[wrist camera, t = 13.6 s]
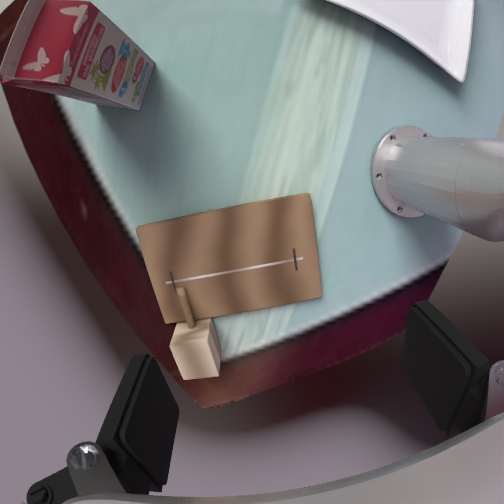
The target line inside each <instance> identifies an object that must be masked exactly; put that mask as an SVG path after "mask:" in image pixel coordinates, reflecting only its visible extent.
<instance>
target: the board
mask: <svg viewBox="0 0 504 504" xmlns="http://www.w3.org/2000/svg"><path fill="white" fill-rule="evenodd" d="M136 232H137V236H138V240H139V243H140V247H141V250H142V253H143V257H144V260H145V263H146V267H147V270H148V273H149V276H150V279H151V282H152V285H153V288H154V291H155V294H156V297H157V300H158V303H159V306H160V309H161V312H162V314H163V317H164V320H165V323H166V324H167V323H175V322H182V321H186V319H185V316H184V312H183V309H182V306H181V303H180V300H179V297H178V294H177V290H176V288H177V287H179V286H183V287H184V290H185V294H186V297H187V300H188V303H189V307H190V310H191V313H192V316H193V319H194V320H196V319H202V318H209V317H215V316H222V315H228V314H234V313H240V312H246V311H252V310H257V309H263V308H268V307H274V306H279V305H284V304H289V303H295V302H300V301H305V300H310V299H314V298H319V297H322V291H321V280H320V270H319V260H318V251H317V243H316V234H315V226H314V219H313V211H312V204H311V197H310V194H309V193H304V194H298V195H292V196H286V197H281V198H275V199H269V200H264V201H258V202H253V203H247V204H242V205H237V206H232V207H227V208H221V209H216V210H211V211H207V212H202V213H197V214H192V215H187V216H183V217H178V218H174V219H169V220H165V221H160V222H156V223H151V224H147V225H143V226H138V227H137V228H136Z"/></svg>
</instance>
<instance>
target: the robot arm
mask: <svg viewBox="0 0 504 504" xmlns="http://www.w3.org/2000/svg"><path fill="white" fill-rule="evenodd" d="M390 137H391V139H390ZM377 174H378V177H376V176H377ZM371 179H372V183H373V187H374V190H375V192H376V194H377V196H378V198H379V199H380V201H381V203H382V204H383V205H384V206H385V207H386V208H387V209H389V210H390V211H391V212H393V213H395V214H397V215H399V216H402V217H406V218H415V217H420V216H422V215H425V214H427V215H429V216H432V217H434V218H436V219H439V220H441V221H443V222H446V223H448V224H450V225H453V226H455V227H457V228H459V229H461V230H464V231H466V232H468V233H470V234H472V235H475V236H477V237H480V238H481V239H484V240H487V241H491V242H502V241H504V140H502V139H485V138H461V137H432V136H431V135H430V134H429V133H428V132H426V131H424V130H423V129H420V128H417V127H413V126H403V127H398V128H395V129H393V130H391V131H389V132H388V133H387V134H385V135H384V136H383V137H382V138H381V140H380V141H379V143H378V144H377V146H376V148H375V150H374V153H373V157H372V161H371ZM397 208H398V209H397ZM402 369H403V371H404V373H405V374H406V376H407V377H408V379H409V381H410V382H411V384H412V385H413V387H414V388H415V390H416V392H417V393H418V395H419V396H420V398H421V400H422V401H423V403H424V404H425V406H426V408H427V409H428V411H429V413H430V414H431V416H432V418H433V419H434V421H435V423H436V424H437V426H438V428H439V429H440V430H441V431H443V430H444V431H445V433H446V434H447V436H449V435H451V434H453V433H455V432H457V431H459V430H460V432H461V434H459V435H457V436H455V437H453V438H451V439H449V440H447V441H445V442H443V443H440V444H439V445H436V446H434V447H432V448H430V449H427V450H425V451H423V452H420V453H418V454H416V455H413V456H411V457H408V458H406V459H403V460H400V461H398V462H395V463H393V464H390V465H387V466H384V467H381V468H378V469H375V470H372V471H369V472H365V473H362V474H358V475H355V476H351V477H348V478H344V479H340V480H336V481H332V482H328V483H323V484H319V485H314V486H309V487H304V488H298V489H292V490H287V491H279V492H272V493H263V494H254V495H243V496H225V497H172V496H153V495H149V491H154V492H162V486H163V485H165V484H166V483H167V479H168V473H169V467H170V462H171V456H172V450H173V444H174V439H175V434H176V427H177V422H178V418H179V407H178V405H177V403H176V401H175V399H174V397H173V395H172V393H171V391H170V389H169V387H168V385H167V383H166V381H165V378H164V376H163V374H162V372H161V370H160V368H159V366H158V364H157V361H156V359H155V358H154V357H151V356H150V355H149V354H138V355H133V356H132V358H131V360H130V362H129V365H128V367H127V369H126V371H125V373H124V376H123V378H122V380H121V382H120V385H119V387H118V389H117V391H116V394H115V396H114V398H113V401H112V403H111V405H110V408H109V410H108V413H107V415H106V418H105V420H104V422H103V425H102V427H101V430H100V432H99V435H98V438H97V440H96V443H94V442H90V441H87V442H82V443H79V444H77V445H75V446H74V447H73V448H72V449H71V450H70V451H69V453H68V455H67V459H66V462H67V467H65V468H64V469H62V470H60V471H58V472H56V473H54V474H52V475H50V476H48V477H46V478H44V479H43V480H41V481H39V482H37V483H35V484H33V485H32V486H31V487H30V489H29V490H28V493H27V503H26V504H504V360H503V361H499V362H497V363H495V364H494V365H493V366H491V365H490V364H489V360H488V359H487V358H486V357H485V356H484V355H483V354H482V353H481V352H480V351H479V350H478V349H477V348H476V347H475V345H474V344H473V343H472V342H470V341H469V339H468V338H467V337H465V335H463V334H462V332H461V331H459V330H458V329H457V328H456V327H455V326H454V325H453V324H452V323H451V322H450V321H449V320H448V319H447V318H446V317H445V316H444V315H443V314H442V313H441V312H440V311H439V310H438V309H436V308H435V307H434V306H433V305H432V304H431V303H430V302H429V301H428V300H423V301H420V302H416V303H413V304H412V306H411V308H410V309H409V310H408V314H407V324H406V334H405V343H404V350H403V357H402ZM21 504H25V503H24V502H22V503H21Z"/></svg>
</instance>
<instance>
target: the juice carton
mask: <svg viewBox="0 0 504 504" xmlns="http://www.w3.org/2000/svg"><path fill="white" fill-rule="evenodd" d="M154 65H155V62H154V61H153V60H152V59H151V58H150V57H149V56H148V55H147V54H146V53H145V52H144V51H143V50H142V49H141V48H140V47H139V46H138V45H137V44H135V43H134V42H133V41H132V40H131V39H130V38H129V37H128V36H127V35H126V34H125V33H124V32H123V31H122V30H121V29H120V28H119V27H117V26H116V25H115V24H114V23H113V22H112V21H111V20H110V19H109V18H108V17H107V16H106V15H104V14H103V13H102V12H101V11H100V10H99V9H98V8H97V7H95V6H94V5H93V4H92V3H91V2H89V1H81V0H28V2H27V4H26V6H25V8H24V10H23V13H22V15H21V17H20V19H19V21H18V23H17V26H16V28H15V30H14V33H13V35H12V37H11V40H10V43H9V45H8V48H7V50H6V53H5V56H4V59H3V62H2V65H1V68H0V78H3V81H2V84H7V85H13V86H18V87H23V88H28V89H33V90H38V91H43V92H47V93H52V94H56V95H61V96H65V97H69V98H73V99H77V100H81V101H85V102H88V103H92V104H96V105H103V106H111V107H118V108H124V109H131V110H137V111H140V107H141V104H142V101H143V97H144V94H145V91H146V88H147V85H148V82H149V79H150V76H151V73H152V70H153V67H154Z"/></svg>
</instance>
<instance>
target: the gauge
mask: <svg viewBox="0 0 504 504" xmlns="http://www.w3.org/2000/svg"><path fill="white" fill-rule="evenodd" d="M176 290H177V294H178V297H179V300H180V303H181V306H182V309H183V312H184V316H185V319H186V321H182V322H177V325H176V328H175V331H174V334H173V337H172V340H171V343H170V348H171V351H172V353H173V356H174V358H175V361H176V363H177V365H178V368H179V370H180V372H181V375H182V377H183V379H184V380H187V379H197V378H207V377H216V376H219V369H220V357H221V348H220V344H219V341H218V338H217V334H216V331H215V328H214V324H213V321H212V317H209V318H202V319H196V320H194V319H193V316H192V313H191V310H190V307H189V303H188V300H187V297H186V294H185V290H184V287H183V286H179V287H177V288H176Z"/></svg>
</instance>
